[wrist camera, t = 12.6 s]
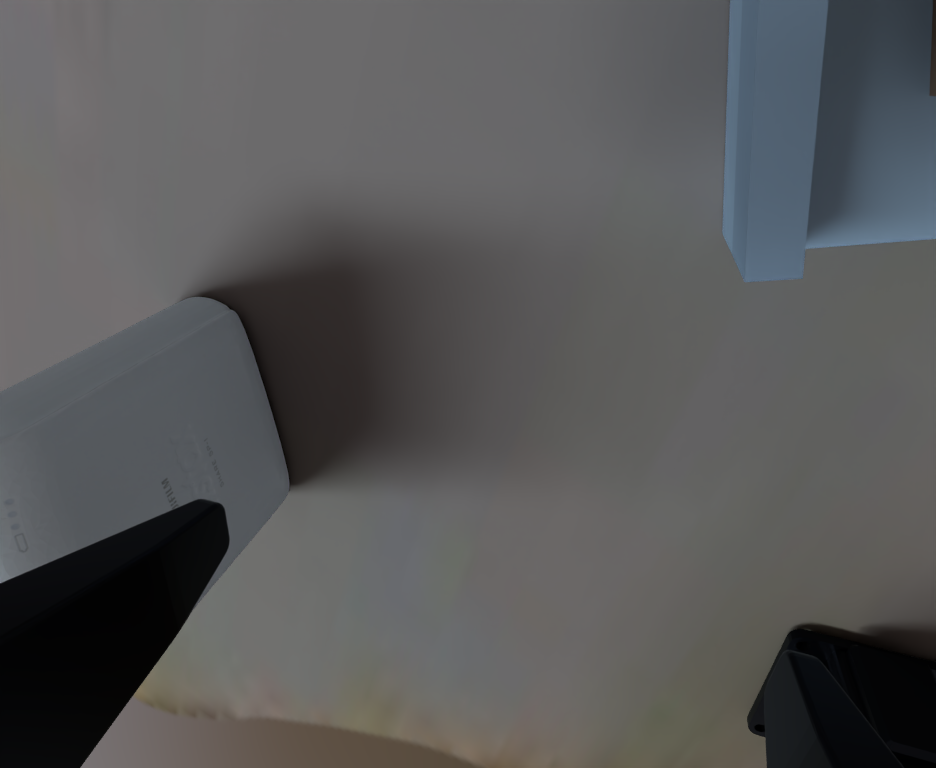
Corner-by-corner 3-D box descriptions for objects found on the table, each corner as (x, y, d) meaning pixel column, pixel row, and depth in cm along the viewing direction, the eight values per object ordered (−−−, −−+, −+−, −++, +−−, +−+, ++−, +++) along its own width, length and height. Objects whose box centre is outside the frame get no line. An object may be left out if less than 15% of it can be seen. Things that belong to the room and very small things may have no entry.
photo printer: (305, 499, 28) (99, 752, 18) (229, 492, 29) (-6, 725, 19) (247, 292, 24) (-76, 466, 13) (160, 294, 25) (-199, 455, 14)
